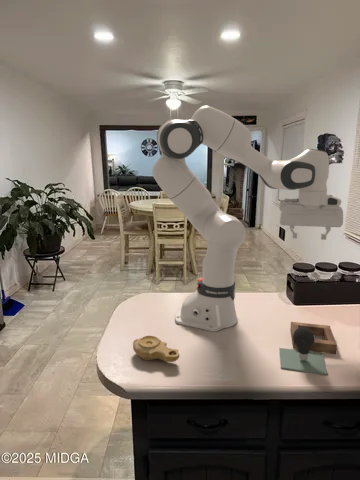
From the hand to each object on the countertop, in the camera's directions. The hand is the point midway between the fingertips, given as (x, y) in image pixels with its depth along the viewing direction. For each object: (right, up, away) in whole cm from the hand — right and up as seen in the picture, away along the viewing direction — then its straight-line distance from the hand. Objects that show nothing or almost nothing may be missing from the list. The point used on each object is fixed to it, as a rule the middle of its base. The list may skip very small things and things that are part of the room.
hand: (308, 238), depth 114 cm
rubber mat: (-10, -35, -21) cm, 42 cm away
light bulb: (-10, -35, -21) cm, 42 cm away
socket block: (-3, -32, -11) cm, 34 cm away
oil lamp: (-52, -35, -18) cm, 65 cm away
